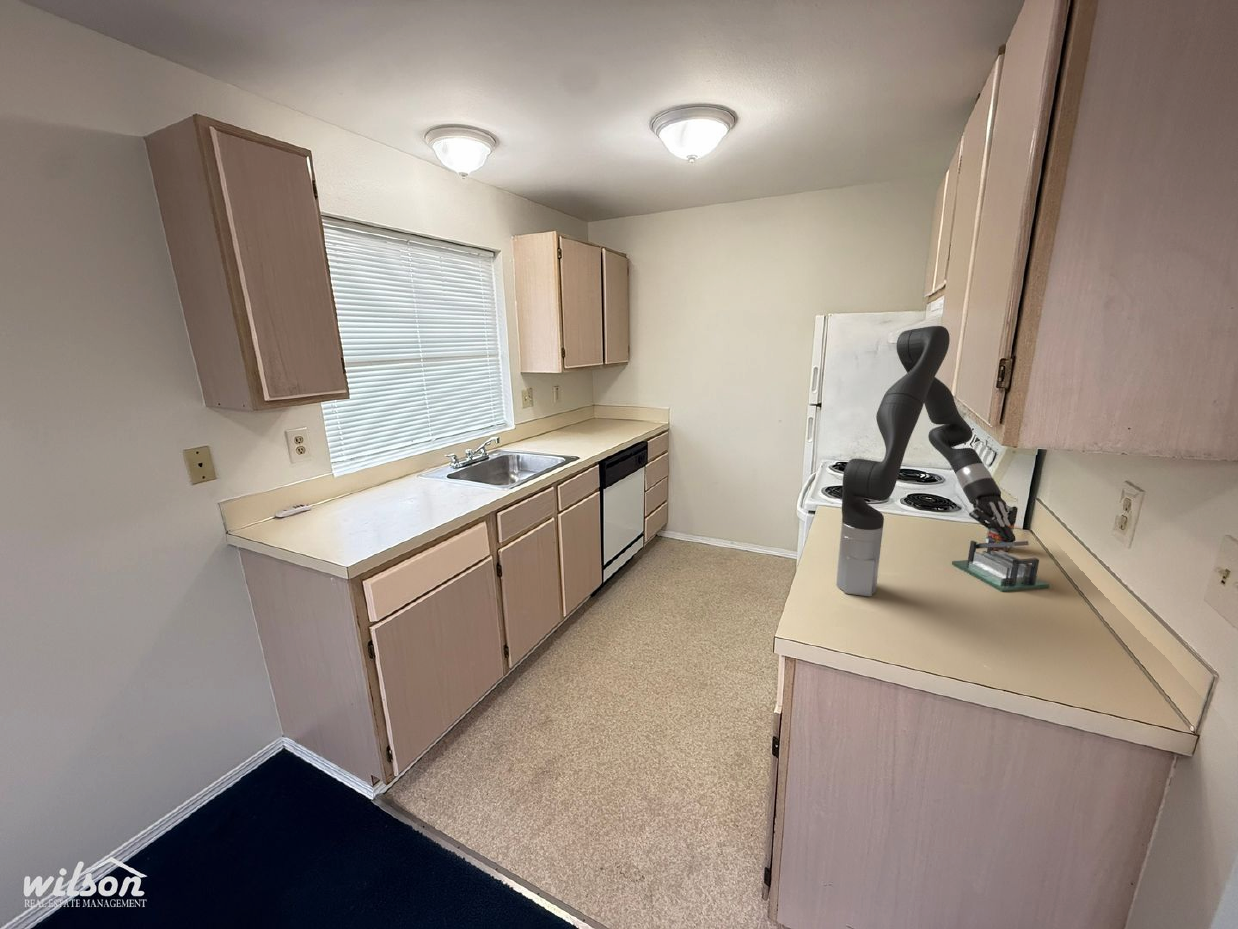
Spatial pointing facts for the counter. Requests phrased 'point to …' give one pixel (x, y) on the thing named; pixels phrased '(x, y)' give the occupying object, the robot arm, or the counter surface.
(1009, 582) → the heatsink
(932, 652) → the counter surface
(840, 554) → the robot arm
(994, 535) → the supplement bottle
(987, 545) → the retention strap
